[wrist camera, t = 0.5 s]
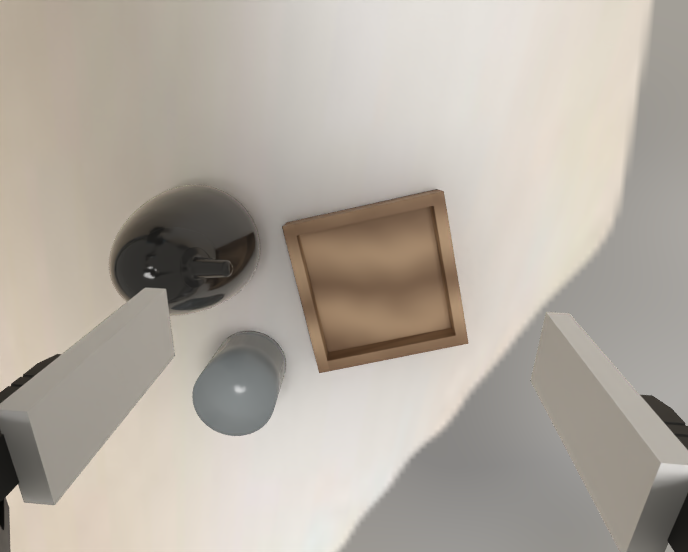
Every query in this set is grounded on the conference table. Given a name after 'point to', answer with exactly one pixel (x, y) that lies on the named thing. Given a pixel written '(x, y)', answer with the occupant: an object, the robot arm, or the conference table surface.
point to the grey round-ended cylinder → (240, 384)
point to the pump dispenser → (186, 249)
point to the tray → (378, 281)
